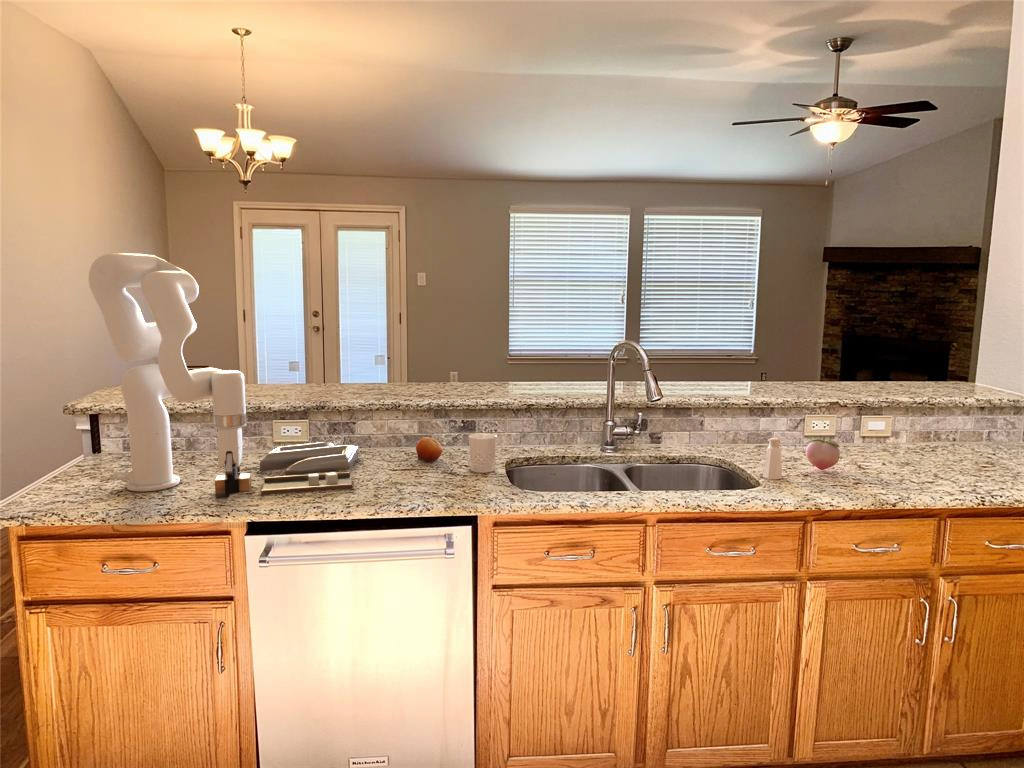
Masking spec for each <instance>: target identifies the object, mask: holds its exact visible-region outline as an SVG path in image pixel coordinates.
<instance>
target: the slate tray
mask: <svg viewBox="0 0 1024 768" xmlns="http://www.w3.org/2000/svg"><path fill="white" fill-rule="evenodd" d="M325 473H326V472H323V473H318V474H319V485H312V486H309V474H306V475H292V476H286V475H280V476H277V475H275V476H264V477H263V481H264V482H263V485H262V489H261V490H260V495H261V496H262V495H275V494H276V495H277V494H290V493H291V494H292V493H305V492H320V491H322V492H323V491H333V490H335V491H336V490H348V489H349V490H350V489H353V483H352V478H351V471H343V472H342V471H340V472H336V473H337V474H338V483H337V484H330V485H328V484H327V483H326V475H325Z"/></svg>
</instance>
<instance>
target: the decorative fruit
mask: <svg viewBox="0 0 1024 768" xmlns="http://www.w3.org/2000/svg"><path fill="white" fill-rule="evenodd" d="M806 443H807V444H808V445H807V446H806V449H805V458H806V459H807V461H808V462H809V463H810V464H811V465H812V466H814V467H816V468H817V469H818V470H820V471H824V470H827V469H830V468H832V467H834V466H836V464H838V462H839V460H840V456H841V453H840V448H841V446H840V445H839V443H838V442H836V441H833V440H827V439H826V436H823V439H820V438H812V439H810V440H808V441H807V442H806Z"/></svg>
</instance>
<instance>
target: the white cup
mask: <svg viewBox="0 0 1024 768" xmlns="http://www.w3.org/2000/svg"><path fill="white" fill-rule="evenodd" d="M468 449H469V461H470V471H471V472H474V473H479V474H486V473H492V472H494V471H495V464H496V463H495V461H496V452H497V435H496V434H494V433H489V432H475V433H471V434H469V435H468Z"/></svg>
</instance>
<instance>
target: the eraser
mask: <svg viewBox="0 0 1024 768" xmlns="http://www.w3.org/2000/svg"><path fill="white" fill-rule="evenodd" d="M237 478H239V493H242V492H251V489H252V475H251V473H241V474H237ZM214 495H215V499H219V498H229V497H230V495H226V494H225V474H218V475H216V476H215V480H214Z"/></svg>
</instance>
